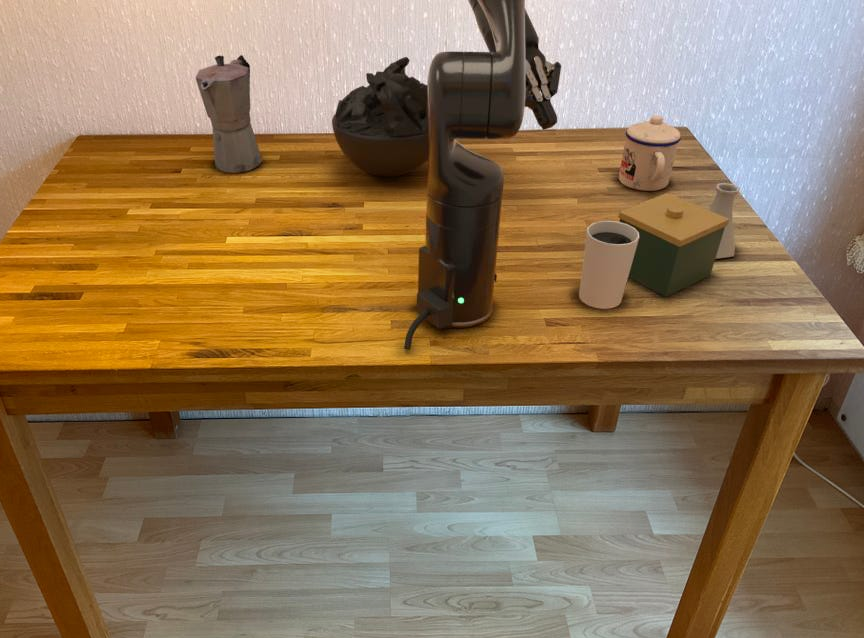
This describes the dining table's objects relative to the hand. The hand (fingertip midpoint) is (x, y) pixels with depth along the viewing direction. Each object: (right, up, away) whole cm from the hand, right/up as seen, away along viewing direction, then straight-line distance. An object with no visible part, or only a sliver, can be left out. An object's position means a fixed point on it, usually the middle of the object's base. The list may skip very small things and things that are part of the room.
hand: (550, 126), depth 115 cm
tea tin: (+14, -24, -7) cm, 28 cm away
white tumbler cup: (+4, -28, -13) cm, 31 cm away
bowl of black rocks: (-25, -2, +22) cm, 33 cm away
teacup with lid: (+20, -6, +16) cm, 27 cm away
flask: (+24, -20, -2) cm, 31 cm away
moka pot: (-54, +1, +26) cm, 59 cm away
